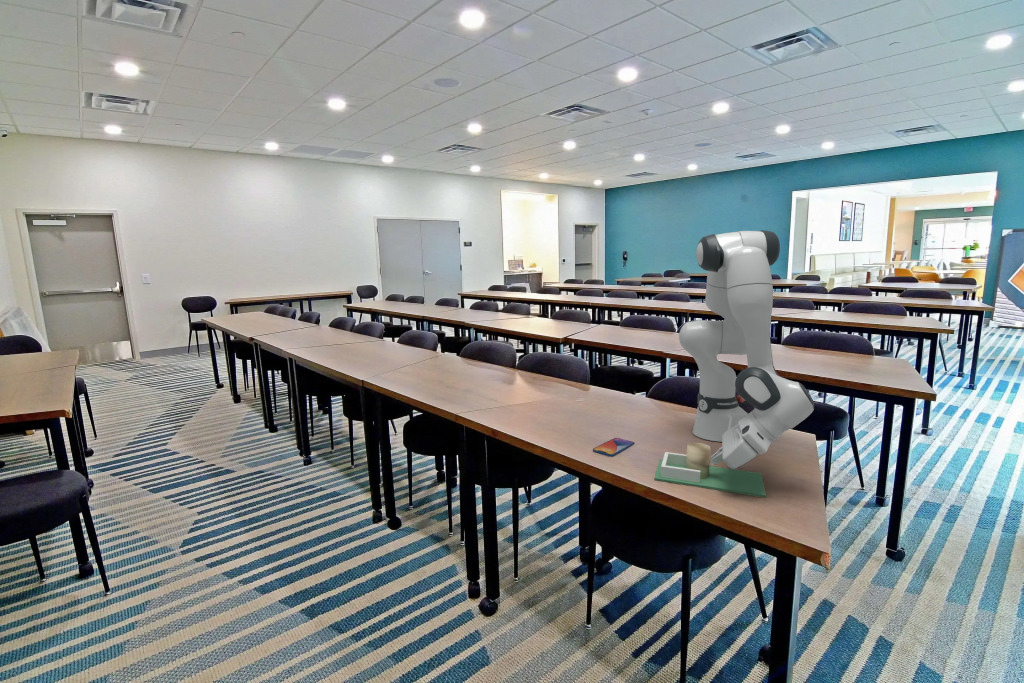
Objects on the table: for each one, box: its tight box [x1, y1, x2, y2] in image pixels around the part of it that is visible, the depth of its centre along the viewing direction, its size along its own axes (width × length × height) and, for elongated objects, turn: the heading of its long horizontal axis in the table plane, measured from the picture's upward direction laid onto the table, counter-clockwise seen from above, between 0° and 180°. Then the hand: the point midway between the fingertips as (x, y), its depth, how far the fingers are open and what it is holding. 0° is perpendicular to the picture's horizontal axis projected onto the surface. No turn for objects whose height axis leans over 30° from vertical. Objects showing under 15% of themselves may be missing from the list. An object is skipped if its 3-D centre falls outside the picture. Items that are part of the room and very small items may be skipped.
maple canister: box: [686, 442, 712, 479], centre depth 135 cm, size 6×6×8 cm
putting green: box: [653, 451, 767, 498], centre depth 135 cm, size 27×14×4 cm, turn 67°
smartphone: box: [592, 437, 635, 458], centre depth 158 cm, size 7×15×1 cm, turn 139°
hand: (712, 461), depth 134 cm, fingers closed
